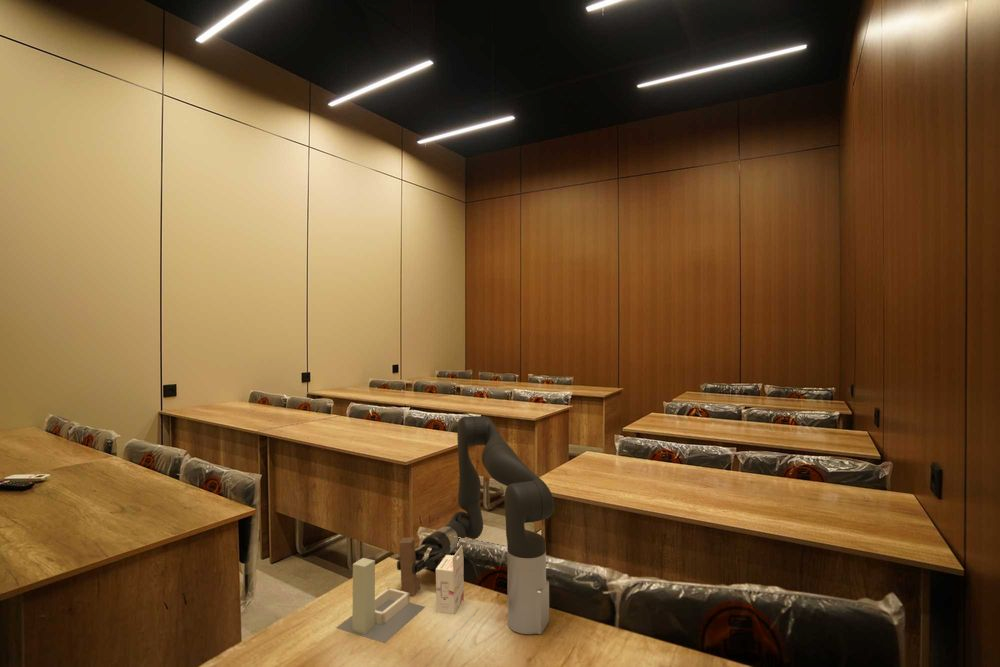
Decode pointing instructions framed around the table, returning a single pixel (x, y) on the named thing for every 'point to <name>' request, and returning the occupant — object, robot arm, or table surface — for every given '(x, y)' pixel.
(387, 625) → the base plate
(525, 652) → the table surface
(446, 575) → the ink cartridge box
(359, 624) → the sage pillar
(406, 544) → the wooden block
